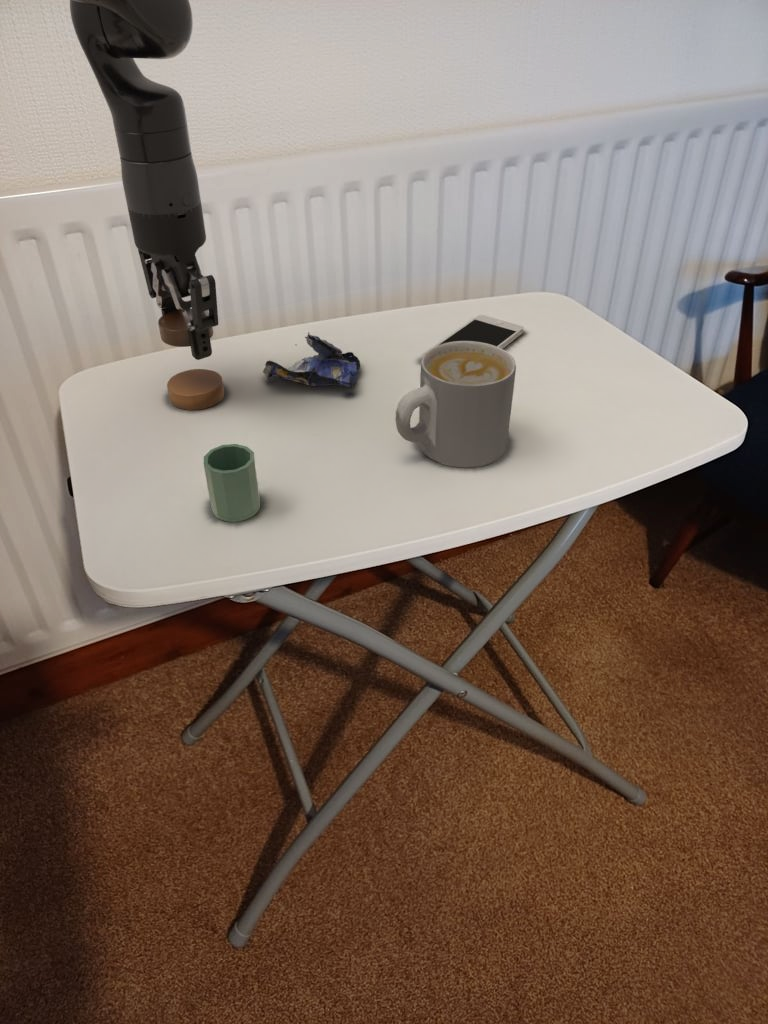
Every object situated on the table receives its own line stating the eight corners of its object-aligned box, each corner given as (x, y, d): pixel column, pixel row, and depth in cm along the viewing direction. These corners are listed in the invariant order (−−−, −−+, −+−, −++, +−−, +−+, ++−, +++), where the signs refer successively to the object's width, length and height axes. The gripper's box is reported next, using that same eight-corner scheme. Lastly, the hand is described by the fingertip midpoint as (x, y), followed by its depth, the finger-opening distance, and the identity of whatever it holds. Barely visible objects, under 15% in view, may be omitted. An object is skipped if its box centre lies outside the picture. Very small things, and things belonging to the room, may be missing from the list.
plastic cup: (245, 526, 77) (238, 476, 73) (203, 515, 78) (194, 466, 74) (268, 498, 80) (263, 449, 76) (227, 488, 82) (220, 440, 78)
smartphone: (524, 332, 110) (525, 325, 109) (467, 376, 100) (468, 369, 99) (479, 319, 113) (480, 313, 112) (421, 361, 103) (421, 354, 102)
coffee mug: (485, 412, 93) (492, 335, 87) (522, 458, 86) (532, 377, 80) (377, 432, 90) (377, 352, 84) (406, 480, 83) (408, 398, 76)
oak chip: (206, 414, 93) (203, 399, 92) (159, 404, 95) (156, 389, 94) (234, 388, 98) (232, 374, 96) (188, 379, 100) (186, 364, 98)
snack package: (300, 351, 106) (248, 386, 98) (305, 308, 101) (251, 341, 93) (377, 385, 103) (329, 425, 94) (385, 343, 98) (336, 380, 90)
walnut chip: (195, 350, 88) (192, 334, 87) (150, 342, 90) (147, 325, 89) (223, 328, 93) (220, 312, 91) (179, 320, 94) (176, 305, 93)
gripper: (101, 190, 84) (133, 334, 95) (161, 225, 75) (189, 380, 86) (165, 177, 88) (189, 317, 98) (230, 209, 79) (248, 360, 90)
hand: (189, 346), depth 92 cm, fingers closed on walnut chip, 6 cm apart
